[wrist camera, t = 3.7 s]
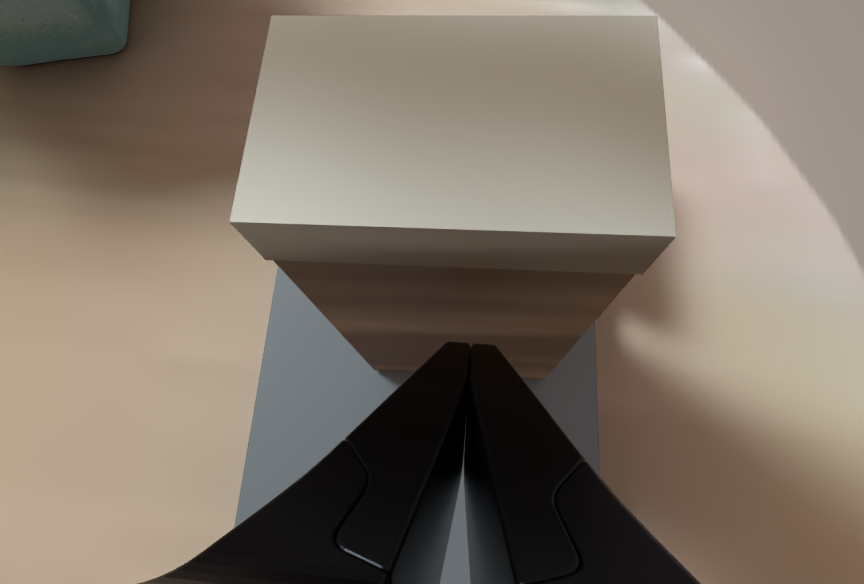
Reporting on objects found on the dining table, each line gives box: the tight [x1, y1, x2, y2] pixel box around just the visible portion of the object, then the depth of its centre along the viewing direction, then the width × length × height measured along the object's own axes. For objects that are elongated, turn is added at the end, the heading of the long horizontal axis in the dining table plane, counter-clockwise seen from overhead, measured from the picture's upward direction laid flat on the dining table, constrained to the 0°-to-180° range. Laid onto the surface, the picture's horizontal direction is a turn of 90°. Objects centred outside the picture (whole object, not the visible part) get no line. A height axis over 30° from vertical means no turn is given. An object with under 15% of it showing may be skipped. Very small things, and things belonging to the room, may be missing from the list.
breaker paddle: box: [229, 15, 676, 380], centre depth 11 cm, size 3×5×10 cm, turn 86°
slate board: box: [234, 266, 599, 584], centre depth 15 cm, size 17×10×3 cm, turn 176°
